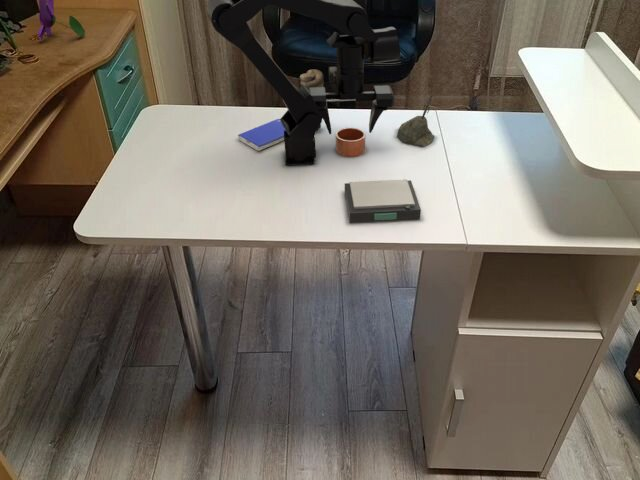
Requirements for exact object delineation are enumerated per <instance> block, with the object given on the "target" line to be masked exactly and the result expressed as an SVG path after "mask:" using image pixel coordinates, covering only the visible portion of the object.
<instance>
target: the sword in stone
mask: <svg viewBox="0 0 640 480" xmlns="http://www.w3.org/2000/svg"><path fill="white" fill-rule="evenodd" d="M433 96H434V93H431V94H430V96H429V98H428V99H429V100H428V102H427V104H424V105H423V108H422V111H423V113H422V115H416V116H414V117H412V118H410V119H408V120H407V121H405V122H403V123H401V124H400V126H399V127H398V129H397V133H396V138H397V139H398V140H399V141H401V143H404V144H407V145H412V146H416V147H421V148H425V147H426V146H429V145H431V144H433V142H434V138H435V135H434V134H433V132H432V131H431V129H430V128H429V123H428V119H427V118H426V115H428V113H429V112H430V109H431V107H430V103H431V101H432V99H433Z"/></svg>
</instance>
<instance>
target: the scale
mask: <svg viewBox="0 0 640 480" xmlns="http://www.w3.org/2000/svg"><path fill="white" fill-rule="evenodd" d="M344 198H345V203H346V210H347V215H348V222H349V224H363V223H381V222H382V223H384V222H401V221H419V220H421V212H422V210H421V207H420V202H419V200H418V197H417V194H416V191H415V188H414V186H413V182H412V180H411V179H410V180H408V179H405V178H404V179H385V180H384V179H383V180H361V181H359V180H358V181H349V182H346V183H344Z"/></svg>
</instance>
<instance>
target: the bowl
mask: <svg viewBox="0 0 640 480" xmlns="http://www.w3.org/2000/svg"><path fill="white" fill-rule="evenodd" d="M335 151H336V154H338V155H339V156H342V157H346V158H355V157H360V156H362V155H363V154H364V153H365V152H366V133H365V131H363V129H361V128H357V127H344V128H340V129H338V130H337V131H336V133H335Z"/></svg>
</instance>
